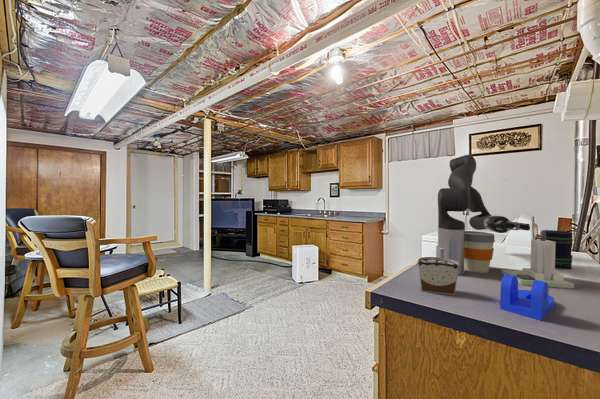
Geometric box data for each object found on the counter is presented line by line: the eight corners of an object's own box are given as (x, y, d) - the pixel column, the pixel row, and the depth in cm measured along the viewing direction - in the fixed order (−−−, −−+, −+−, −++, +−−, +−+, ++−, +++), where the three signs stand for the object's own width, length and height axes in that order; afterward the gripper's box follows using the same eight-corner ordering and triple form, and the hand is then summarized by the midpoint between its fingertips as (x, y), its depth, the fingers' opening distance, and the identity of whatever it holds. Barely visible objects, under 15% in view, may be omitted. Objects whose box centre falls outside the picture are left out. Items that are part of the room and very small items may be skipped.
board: (520, 284, 90) (521, 274, 90) (501, 273, 102) (501, 264, 102) (574, 288, 86) (574, 278, 86) (546, 276, 99) (547, 267, 99)
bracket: (541, 321, 64) (542, 285, 64) (500, 309, 71) (500, 276, 71) (557, 303, 75) (557, 272, 75) (520, 294, 81) (520, 265, 81)
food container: (455, 288, 86) (456, 258, 86) (460, 295, 80) (460, 263, 80) (414, 284, 90) (415, 255, 90) (416, 290, 84) (416, 259, 84)
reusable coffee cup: (501, 274, 101) (502, 235, 100) (465, 273, 103) (466, 235, 102) (483, 265, 113) (484, 231, 113) (452, 264, 115) (453, 230, 115)
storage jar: (538, 265, 114) (539, 231, 113) (541, 261, 120) (542, 229, 120) (571, 270, 106) (572, 234, 106) (572, 266, 113) (573, 231, 113)
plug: (539, 279, 91) (540, 232, 91) (530, 274, 96) (531, 230, 96) (556, 280, 90) (557, 232, 90) (546, 275, 95) (547, 230, 94)
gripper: (479, 215, 124) (496, 217, 108) (514, 216, 120) (537, 218, 105) (479, 231, 124) (495, 235, 108) (514, 232, 120) (536, 237, 105)
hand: (516, 227), depth 106 cm, fingers open, 8 cm apart
